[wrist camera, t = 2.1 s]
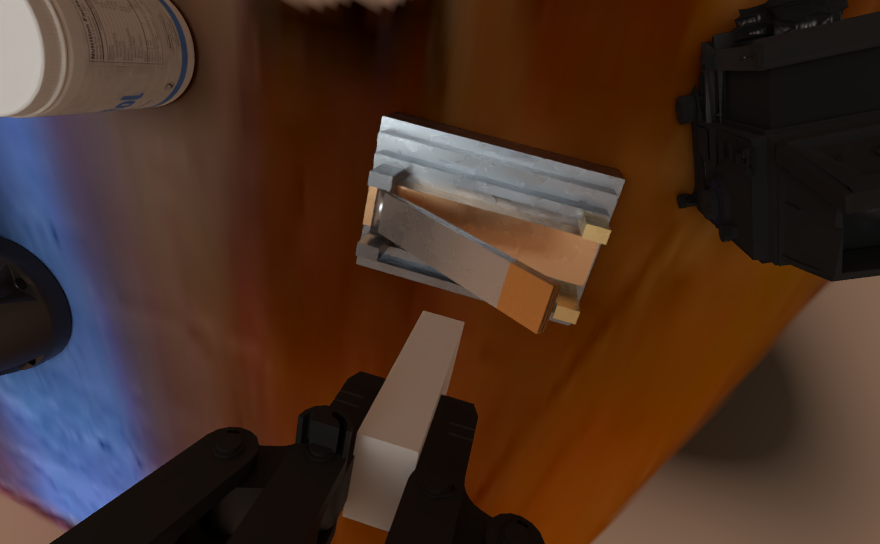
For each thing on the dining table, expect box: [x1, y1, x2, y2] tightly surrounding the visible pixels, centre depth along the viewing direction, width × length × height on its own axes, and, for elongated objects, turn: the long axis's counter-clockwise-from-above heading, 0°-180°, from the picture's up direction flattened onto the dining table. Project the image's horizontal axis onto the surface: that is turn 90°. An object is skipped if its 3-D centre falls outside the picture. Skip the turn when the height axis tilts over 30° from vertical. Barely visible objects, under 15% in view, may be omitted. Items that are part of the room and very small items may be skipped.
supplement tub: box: [0, 0, 195, 118], centre depth 36 cm, size 10×10×15 cm
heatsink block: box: [356, 112, 625, 326], centre depth 38 cm, size 18×12×9 cm, turn 77°
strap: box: [370, 188, 561, 334], centre depth 32 cm, size 16×4×1 cm
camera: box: [676, 0, 880, 281], centre depth 27 cm, size 10×14×20 cm
